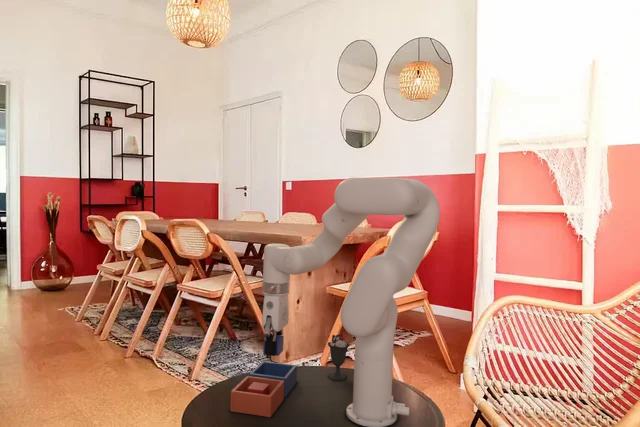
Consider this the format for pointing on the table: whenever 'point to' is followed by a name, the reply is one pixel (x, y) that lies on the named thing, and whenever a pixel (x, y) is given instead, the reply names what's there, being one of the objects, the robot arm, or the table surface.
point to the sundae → (338, 354)
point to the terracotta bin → (257, 397)
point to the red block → (258, 388)
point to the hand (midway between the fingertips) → (273, 351)
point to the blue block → (279, 345)
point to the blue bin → (277, 373)
